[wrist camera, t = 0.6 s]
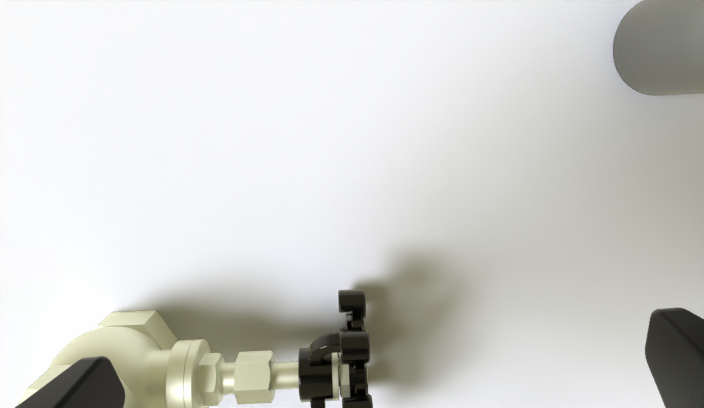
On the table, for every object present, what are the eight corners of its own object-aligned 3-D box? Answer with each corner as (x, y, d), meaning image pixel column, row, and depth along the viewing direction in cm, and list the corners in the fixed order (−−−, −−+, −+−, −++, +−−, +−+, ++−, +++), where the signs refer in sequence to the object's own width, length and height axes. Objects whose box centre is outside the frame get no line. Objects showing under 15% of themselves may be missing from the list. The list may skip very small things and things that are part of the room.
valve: (100, 415, 23) (364, 402, 24) (10, 532, 17) (376, 511, 17) (81, 275, 22) (360, 264, 23) (-22, 343, 16) (370, 325, 16)
